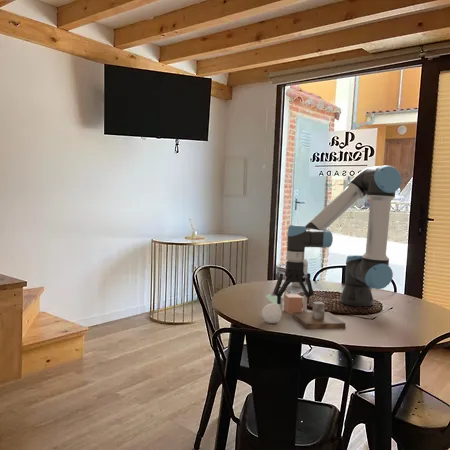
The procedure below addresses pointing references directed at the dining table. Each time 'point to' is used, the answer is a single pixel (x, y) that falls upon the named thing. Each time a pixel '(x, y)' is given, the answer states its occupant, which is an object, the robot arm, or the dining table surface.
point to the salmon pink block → (292, 303)
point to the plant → (273, 298)
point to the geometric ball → (271, 313)
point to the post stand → (318, 318)
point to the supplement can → (303, 276)
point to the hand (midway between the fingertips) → (292, 311)
